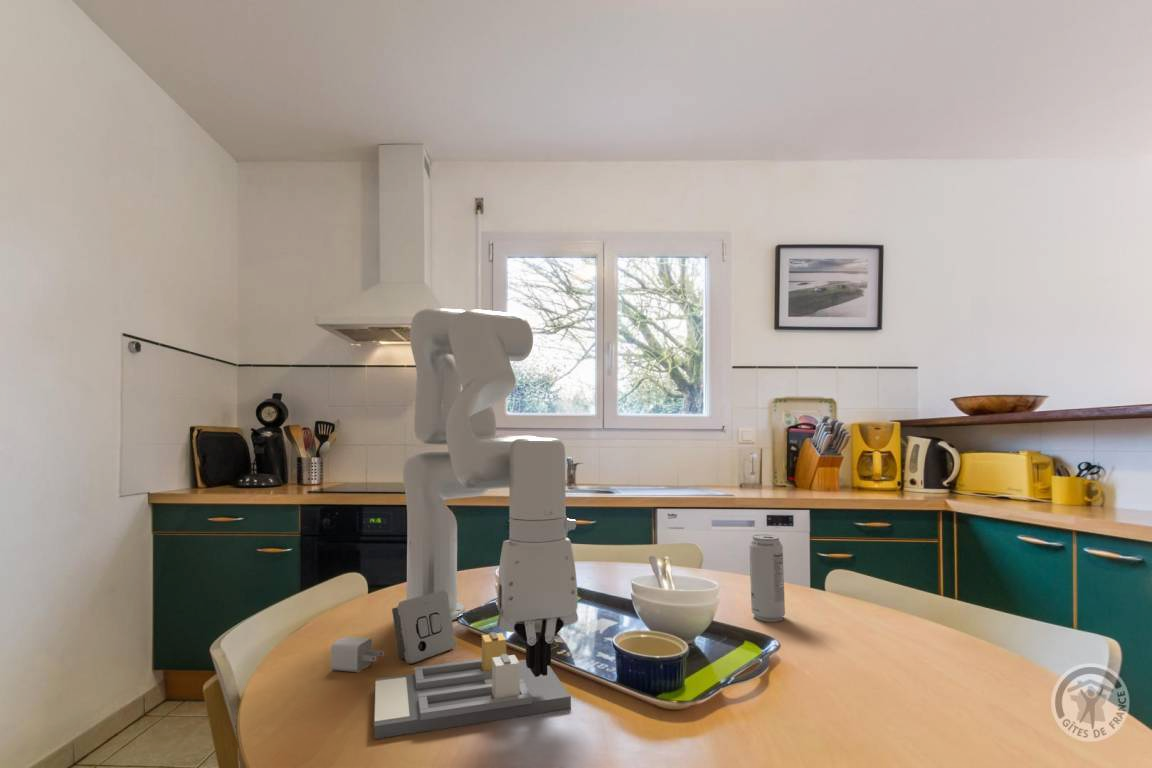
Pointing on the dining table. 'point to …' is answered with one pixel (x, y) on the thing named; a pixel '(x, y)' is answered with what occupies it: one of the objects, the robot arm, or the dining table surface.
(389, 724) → the switch board
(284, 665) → the dining table surface
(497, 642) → the yellow block with tab
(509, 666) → the white tab
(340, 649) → the usb wall charger
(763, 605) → the energy drink can
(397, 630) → the electrical switch
